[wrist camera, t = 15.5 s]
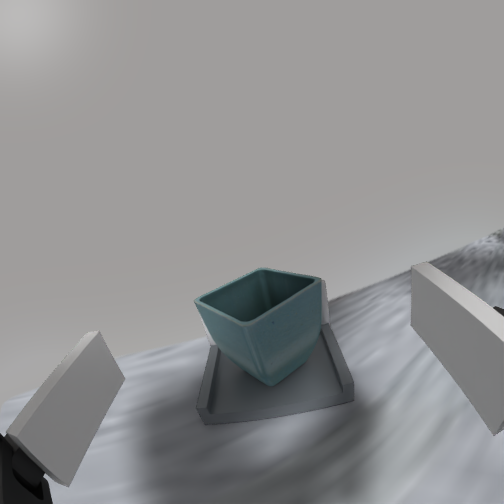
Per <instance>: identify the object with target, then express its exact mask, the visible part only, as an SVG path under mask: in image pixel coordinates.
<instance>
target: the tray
mask: <svg viewBox="0 0 504 504" xmlns="http://www.w3.org/2000/svg"><path fill="white" fill-rule="evenodd" d="M199 314H200V313H199ZM200 317H201V315H200ZM201 320H202V323H203V326H204V329H205V332H206V335H207V338H208V340H209V343H210V346H211V347H210V352H209V356H208V360H207V364H206V368H205V372H204V376H203V381H202V385H201V389H200V393H199V398H198V402H197V406H196V409H197V411H198V413H199V415H200V417H201V419H202V420H203V422H204V424H205V425H208V424H223V423H234V422H244V421H253V420H261V419H268V418H275V417H281V416H287V415H293V414H298V413H303V412H308V411H313V410H317V409H322V408H326V407H331V406H335V405H339V404H343V403H346V402H350V401H354V381H353V379H352V376H351V374H350V371H349V369H348V367H347V364H346V362H345V359H344V357H343V355H342V352H341V350H340V348H339V345H338V343H337V341H336V339H335V336H334V334H333V332H332V329H331V326H330V317H329V308H328V300H327V292H326V285H325V281H324V280H322V322H321V330H320V334H319V338H318V341H317V343H316V345H315V348H314V350H313V351H312V353H311V355H310V356H309V358H308V359H307V361H306V362H305V363H304V364H302V365H301V366H300V367H298V368H297V369H296V370H294V371H293V372H292V373H290V374H289V375H288V376H287V377H285V378H284V379H283V380H281V381H280V382H279V383H277V384H276V385H274V386H267V385H266V384H264V383H263V382H261V381H259V380H258V379H256V378H255V377H253V376H252V375H250V374H249V373H247V372H246V371H244V370H242V369H241V368H240V367H238V366H237V365H236V364H235V363H233V362H232V361H231V360H230V359H229V358H228V357H227V356H226V355H225V354H224V353H223V352H222V351H221V350H220V349H219V347H218V346H217V345H216V343H215V342H214V340H213V339H212V337H211V335H210V333H209V331H208V329H207V327H206V325H205V323H204V321H203V319H202V317H201Z"/></svg>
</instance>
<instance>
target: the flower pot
mask: <svg viewBox="0 0 504 504" xmlns="http://www.w3.org/2000/svg"><path fill="white" fill-rule="evenodd" d="M194 303H195V304H196V307H197V309H198V311H199V313H200V315H201V317H202V319H203V321H204V323H205V325H206V327H207V329H208V331H209V333H210V335H211V337H212V339H213V340H214V342H215V343H216V345H217V346H218V347H219V349H220V350H221V351H222V352H223V353H224V354H225V355H226V356H227V357H228V358H229V359H230V360H231V361H232V362H233V363H235V364H236V365H237V366H238V367H240V368H241V369H242V370H244V371H246V372H247V373H249V374H250V375H252V376H253V377H255V378H256V379H258V380H259V381H261V382H263V383H264V384H266V385H267V386H274V385H276V384H277V383H279V382H280V381H281V380H283V379H284V378H285V377H287V376H288V375H289V374H290V373H292V372H293V371H294V370H296V369H297V368H298V367H300V366H301V365H302V364H304V363H305V362H306V361H307V359H308V358H309V356H310V355H311V353H312V351H313V350H314V348H315V345H316V343H317V341H318V338H319V334H320V330H321V322H322V280H321V278H318V277H313V276H308V275H302V274H296V273H290V272H285V271H279V270H274V269H269V268H258V269H256V270H254V271H252V272H250V273H248V274H246V275H244V276H242V277H240V278H237V279H235V280H233V281H231V282H229V283H227V284H225V285H223V286H221V287H219V288H217V289H215V290H212V291H210V292H208V293H206V294H204V295H202V296H200V297H198V298H196V299H195V300H194Z"/></svg>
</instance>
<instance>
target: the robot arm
mask: <svg viewBox="0 0 504 504" xmlns="http://www.w3.org/2000/svg"><path fill="white" fill-rule="evenodd" d="M411 327H412V328H413V329H414V330H415V331H416V332H417V334H418V335H419V336H420V337H421V339H422V340H423V341H424V342H425V343H426V345H427V346H428V347H429V348H430V350H431V351H432V352H433V353H434V355H435V356H436V357H437V358H438V360H439V361H440V362H441V363H442V365H443V366H444V367H445V369H446V370H447V371H448V372H449V374H450V375H451V376H452V378H453V379H454V380H455V382H456V383H457V384H458V386H459V387H460V388H461V390H462V391H463V392H464V394H465V395H466V397H467V398H468V399H469V401H470V402H471V403H472V405H473V406H474V408H475V409H476V411H477V412H478V413H479V415H480V416H481V418H482V419H483V421H484V422H485V424H486V425H487V427H488V428H489V430H490V431H491V433H492V434H493V436H495V435H496V434H498V433H499V432H501V431H502V430H503V429H504V309H502V308H499V307H496V306H495V307H493V308H492V307H491V306H489V305H488V304H487V303H485V302H484V301H483V300H481V299H480V298H479V297H477V296H476V295H474V294H473V293H472V292H470V291H469V290H467V289H466V288H465V287H463V286H462V285H460V284H459V283H458V282H456V281H455V280H453V279H452V278H450V277H449V276H447V275H446V274H444V273H443V272H441V271H440V270H438V269H437V268H435V267H434V266H432V265H431V264H429V263H428V262H424V263H421V264H417V265H414V266H411ZM124 380H125V377H124V375H123V374H122V372H121V370H120V369H119V367H118V365H117V363H116V361H115V360H114V358H113V356H112V354H111V353H110V350H109V349H108V347H107V345H106V343H105V341H104V339H103V337H102V335H101V333H100V331H96V332H88V333H87V334H86V335H85V336H84V337H83V338H82V339H81V340H80V341H79V342H78V344H77V345H76V346H75V347H74V348H73V349H72V350H71V352H70V353H69V354H68V355H67V356H66V357H65V358H64V360H63V361H62V362H61V363H60V364H59V365H58V367H57V368H56V369H55V370H54V371H53V372H52V374H51V375H50V376H49V377H48V378H47V380H46V381H45V382H44V383H43V384H42V386H41V387H40V388H39V389H38V391H37V392H36V393H35V394H34V396H33V397H32V398H31V399H30V401H29V402H28V403H27V404H26V406H25V407H24V408H23V410H22V411H21V412H20V413H19V415H18V416H17V417H16V419H15V420H14V421H13V423H12V424H11V425H10V427H9V428H8V430H7V431H6V433H7V434H6V435H5V437H3V436H2V435H1V433H0V504H53V502H52V498H51V493H50V488H49V484H48V481H47V480H46V479H45V478H44V477H43V476H44V474H45V473H46V474H47V475H48V476H49V477H50V478H52V479H53V480H54V481H55V482H57V483H59V484H62V485H64V486H67V487H69V486H70V484H71V482H72V480H73V478H74V476H75V474H76V472H77V470H78V468H79V466H80V463H81V461H82V459H83V457H84V455H85V453H86V451H87V449H88V448H89V446H90V444H91V442H92V440H93V438H94V436H95V434H96V432H97V430H98V428H99V426H100V424H101V422H102V421H103V419H104V417H105V415H106V413H107V411H108V409H109V408H110V406H111V404H112V402H113V400H114V398H115V397H116V395H117V393H118V391H119V389H120V388H121V386H122V384H123V382H124Z"/></svg>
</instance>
